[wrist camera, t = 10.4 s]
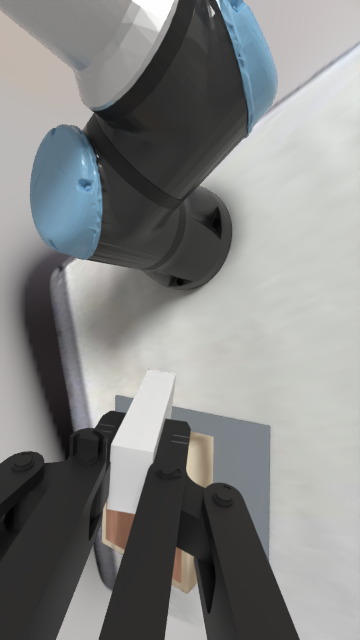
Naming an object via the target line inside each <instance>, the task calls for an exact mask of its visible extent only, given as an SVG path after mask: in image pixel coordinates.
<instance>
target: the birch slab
mask: <svg viewBox="0 0 360 640" xmlns="http://www.w3.org/2000/svg"><path fill="white" fill-rule="evenodd" d="M213 438H214V437H212V436H208V435H204V434H200V433H196V432H192V431H191V434H190V442H189V450H188V458H187V466H186V471H187V474H188V476H189V477H190V479H191V480H192V481H194V482H195V483H196V484H198V485H200V486H202V487H204V488H206V487H207V486H209V485H210V484H212V483H213ZM134 516H135V514H132V513H126V512H121V511H115V510H110V509H107V501H106V503H105V506H104V508H103V520H102V543H104V544H106V545H107V546H109V547H111V548H112V549H114V550H116V551H117V552H119V553H121V554H122V555H123V554H124V550H125V547H126V544H127V540H128V537H129V533H130V530H131V526H132V523H133V519H134ZM196 584H197V577H196V571H195V566H194V556H192V555H190V554H188V553H186V552H184V551H183V550H181V549H179V548H177V547H176V553H175V560H174V568H173V576H172V585H173V586H175V587H177V588H178V589H180V590H182V591H183V592H185V593H187V594H188V593H189V592H190V591H191V590H192V588H193V587H194V586H195V585H196Z"/></svg>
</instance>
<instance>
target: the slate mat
mask: <svg viewBox="0 0 360 640" xmlns="http://www.w3.org/2000/svg"><path fill="white" fill-rule="evenodd" d="M133 399H134V398H129V397H124V396H119V395H116V396H115V411H117V412H123V413H127V412H128V410H129V408H130V406H131V403H132V401H133ZM171 419H173V420H179V421H185V422H188V424H189V426H190V428H191V431H192V432H196V433H200V434H204V435H208V436H212V437H214V438H213V483H218V482H220V483H226V484H229V485H231V486H233V487H235V488H236V489H237V490H238V491H239V492H240V493H241V495H242V496H243V498H244V501H245V503H246V506H247V508H248V511H249V513H250V516H251V519H252V521H253V524H254V526H255V529H256V531H257V534H258V536H259V539H260V541H261V544H262V546H263V549H264V551H265V554H266V556H267V559H268V561H269V498H270V426H267V425H263V424H258V423H253V422H248V421H243V420H238V419H233V418H228V417H223V416H218V415H213V414H208V413H203V412H198V411H193V410H188V409H183V408H178V407H173V406H172V412H171Z"/></svg>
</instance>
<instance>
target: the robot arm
mask: <svg viewBox="0 0 360 640" xmlns="http://www.w3.org/2000/svg"><path fill="white" fill-rule="evenodd" d="M0 10H1V11H2V12H3V13H4V14H6V15H7V16H8V17H9V18H11V19H12V20H13V21H14V22H15V23H17V24H18V25H19V26H20V27H21V28H23V29H24V30H25V31H26V32H28V33H29V34H30V35H31V36H32V37H34V38H35V39H36V40H38V41H39V42H40V43H41V44H42V45H44V46H45V47H46V48H47V49H48V50H50V51H51V52H52V53H53V54H55V55H56V56H57V57H58V58H59V59H61V60H62V61H63V62H64V63H66V64H67V65H68V66H69V67H71V68H72V69H73V71H74V73H75V77H76V81H77V85H78V89H79V94H80V97H81V100H82V102H83V104H85V105H86V106H87V107H88V108H89V109H90V110H92V111H93V112H94V114H93V115H92V117H91V118H90V120H89V121H88V123H87V124H86V126H85V127H84V129H83V130H80V128H78V127H77V126H74V125H73V126H72V125H70V126H69V125H63V124H62V125H59V126H57V127H56V128H53V129H52V130H50V131H49V132H48V133H47V134H46V136H45V137H44V139H43V140H42V142H41V144H40V146H39V148H38V151H37V154H36V156H35V160H34V164H33V169H32V173H31V182H30V204H31V212H32V217H33V220H34V224H35V226H36V229H37V231H38V233H39V235H40V237H41V238H42V240H43V241H44V242H45V243H46V244H47V245H48V246H49V247H50V248H52V249H54V250H56V251H58V252H61V253H65V254H68V255H72V256H75V257H76V258H78V259H82V260H90V261H95V262H101V263H106V264H112V265H118V266H123V267H129V268H135V269H140V270H142V271H143V272H145V273H146V274H147V275H149V276H150V277H151V278H153V279H154V280H155V281H157V282H158V283H159V284H161V285H163V286H166V287H169V288H174V289H181V290H188V289H193V288H196V287H199V286H201V285H203V284H205V283H206V282H208V281H209V280H210V279H211V278H212V277H213V276H214V275H215V274H216V273H217V272H218V271H219V269H220V268H221V266H222V265H223V263H224V261H225V259H226V257H227V255H228V252H229V249H230V245H231V238H232V224H231V219H230V215H229V212H228V210H227V208H226V206H225V204H224V203H223V202H222V200H221V199H220V198H219V197H218V196H217V195H215V194H214V193H212V192H211V191H209V190H207V189H206V188H204V187H201V186H199V185H200V184H201V183H202V182H203V181H204V180H205V179H206V177H207V176H208V175H209V174H210V173H211V172H212V171H213V170H214V169H215V168H216V167H217V166H218V165H219V164H220V163H221V162H222V161H223V160H224V158H225V157H226V156H227V155H228V154H229V153H230V152H231V151H232V150H233V149H234V148H235V147H236V146H237V145H238V144H239V143H240V142H241V141H242V139H244V138H246V137H248V136H249V133H251V131H252V128H253V126H254V125H255V124H256V123H257V122H258V121H259V119H260V118H261V117H262V116H263V115H264V114H265V112H266V111H267V110H268V109H269V108H270V106H271V105H272V103H273V100H274V98H275V95H276V93H277V87H278V80H277V72H276V68H275V64H274V61H273V57H272V54H271V52H270V49H269V47H268V44H267V42H266V39H265V37H264V35H263V33H262V30H261V28H260V26H259V24H258V22H257V20H256V18H255V16H254V14H253V12H252V11H251V9H250V7H249V6H248V5H247V4H246V3H245V2H243V0H0ZM175 378H176V373H170V372H163V371H156V370H150V369H148V371H147V373H146V375H145V377H144V379H143V381H142V383H141V385H140V387H139V389H138V391H137V393H136V395H135V397H134V399H133V401H132V403H131V406H130V408H129V410H128V412H127V413H123V412H117V411H109V412H108V413H106V414H105V415H103V416H102V418H101V419H100V421H99V422H98V424H97V426H96V427H95V428H86V429H80V430H78V431H76V432H74V433H73V434H72V435H71V436H70V456H69V458H68V459H67V460H66V461H62V462H53V463H44V459H43V456H42V455H40V454H39V453H37V452H32V451H30V452H21V453H17V454H14V455H13V456H11V457H9V458H7V459H6V460H5V461H3V462H2V463H0V640H56V638H57V635H58V633H59V630H60V628H61V625H62V622H63V620H64V617H65V615H66V612H67V609H68V607H69V604H70V602H71V599H72V597H73V594H74V592H75V589H76V587H77V584H78V581H79V579H80V576H81V574H82V571H83V569H84V566H85V564H86V561H87V559H88V556H89V554H90V551H91V548H92V546H93V543H94V541H95V538H96V536H97V533H98V531H99V528H100V525H101V523H102V518H103V508H104V506H105V503H106V501H107V509H110V510H115V511H121V512H126V513H132V514H135V516H134V519H133V523H132V526H131V530H130V533H129V537H128V540H127V544H126V547H125V550H124V554H123V557H122V561H121V564H120V568H119V571H118V574H117V578H116V581H115V585H114V588H113V592H112V595H111V599H110V602H109V605H108V609H107V612H106V616H105V619H104V623H103V626H102V630H101V633H100V636H99V640H164V638H165V630H166V623H167V615H168V607H169V599H170V592H171V584H172V576H173V568H174V560H175V553H176V547H177V548H179V549H181V550H183V551H184V552H186V553H188V554H190V555H192V556H194V566H195V571H196V577H197V583H198V588H199V594H200V600H201V606H202V611H203V617H204V623H205V628H206V634H207V640H300V639H299V637H298V634H297V632H296V629H295V627H294V624H293V622H292V619H291V617H290V614H289V612H288V609H287V607H286V604H285V602H284V599H283V596H282V594H281V591H280V589H279V586H278V584H277V581H276V579H275V576H274V574H273V571H272V569H271V566H270V564H269V561H268V559H267V556H266V554H265V551H264V549H263V546H262V544H261V541H260V539H259V536H258V534H257V531H256V529H255V526H254V524H253V521H252V519H251V516H250V513H249V511H248V508H247V506H246V503H245V501H244V498H243V496H242V495H241V493H240V492H239V491H238V490H237V489H236V488H235V487H233V486H231V485H229V484H226V483H220V482H218V483H212V484H210V485H209V486H207V487H206V488H204V487H202V486H200V485H198V484H196V483H195V482H194V481H192V480H191V479H190V477H189V476H188V474H187V471H186V466H187V458H188V450H189V442H190V434H191V428H190V426H189V424H188V422H185V421H179V420H173V419H171V412H172V404H173V395H174V386H175Z"/></svg>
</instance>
